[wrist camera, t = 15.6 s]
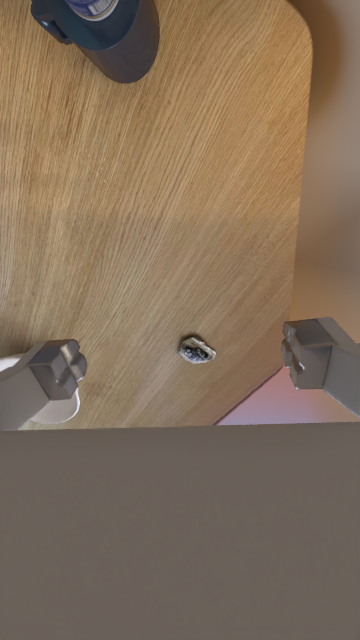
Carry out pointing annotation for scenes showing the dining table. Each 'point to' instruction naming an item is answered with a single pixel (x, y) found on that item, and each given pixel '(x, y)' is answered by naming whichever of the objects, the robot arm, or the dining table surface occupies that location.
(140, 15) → the mug
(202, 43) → the dining table surface
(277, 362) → the dining table surface
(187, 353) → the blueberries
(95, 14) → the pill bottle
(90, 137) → the dining table surface
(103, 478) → the robot arm
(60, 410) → the bowl
